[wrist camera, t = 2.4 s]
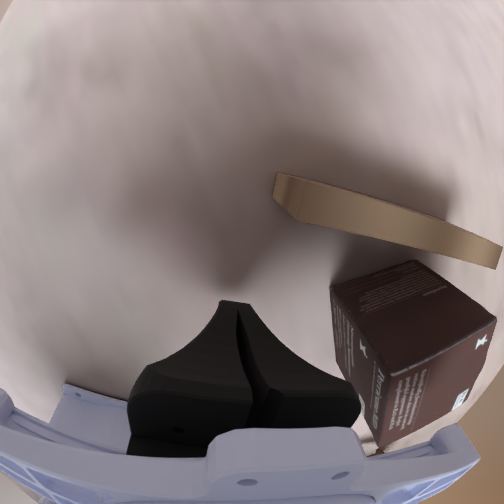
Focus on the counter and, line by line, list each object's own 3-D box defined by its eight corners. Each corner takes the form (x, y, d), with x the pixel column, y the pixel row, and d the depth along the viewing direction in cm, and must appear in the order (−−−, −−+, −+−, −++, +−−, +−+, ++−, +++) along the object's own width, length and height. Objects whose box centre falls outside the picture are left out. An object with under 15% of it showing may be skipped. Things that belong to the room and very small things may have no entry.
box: (326, 283, 15) (390, 374, 8) (416, 256, 15) (501, 314, 8) (334, 362, 17) (375, 451, 10) (411, 334, 17) (469, 402, 10)
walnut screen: (271, 197, 13) (296, 220, 8) (277, 172, 13) (306, 181, 8) (440, 239, 15) (495, 269, 10) (445, 221, 14) (502, 247, 9)
